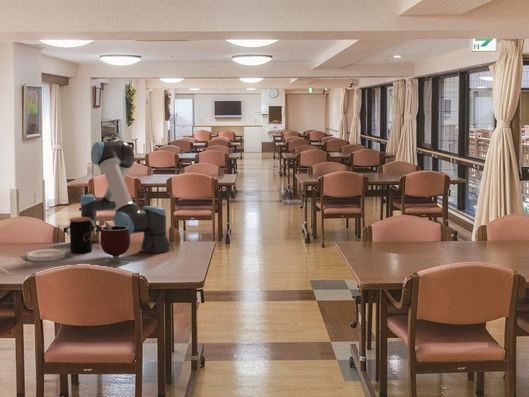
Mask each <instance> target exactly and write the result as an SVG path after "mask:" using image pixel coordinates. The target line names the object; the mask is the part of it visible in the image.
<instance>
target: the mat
mask: <svg viewBox="0 0 529 397" xmlns="http://www.w3.org/2000/svg"><path fill="white" fill-rule="evenodd" d="M19 258H22V259H24V260H26V261H28V262H30V263H32V264H35V265H36V264H42V263H49V262H57V261H65V260H73V259H74V257H73V256H70V255H68V254H66V256H65V258H62V259H58V260H51V261H32V260H29V259H27V254H26V255H19Z"/></svg>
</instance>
